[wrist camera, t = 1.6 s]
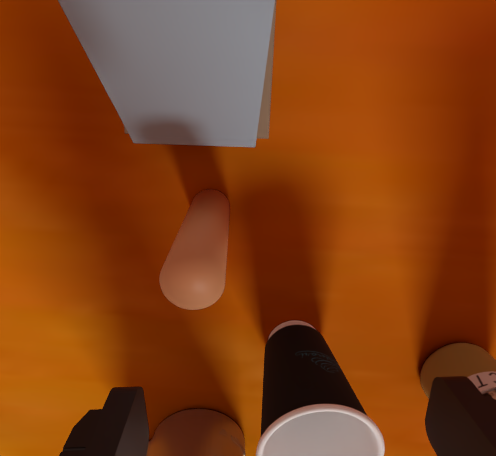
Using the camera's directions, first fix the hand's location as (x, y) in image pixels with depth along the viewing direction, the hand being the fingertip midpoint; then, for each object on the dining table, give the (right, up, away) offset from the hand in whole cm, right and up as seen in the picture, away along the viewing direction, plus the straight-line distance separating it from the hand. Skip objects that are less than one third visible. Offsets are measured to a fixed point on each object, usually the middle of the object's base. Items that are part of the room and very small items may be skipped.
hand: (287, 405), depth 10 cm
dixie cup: (+3, -5, +22) cm, 23 cm away
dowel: (-4, +6, +18) cm, 19 cm away
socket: (-4, +17, +14) cm, 23 cm away
